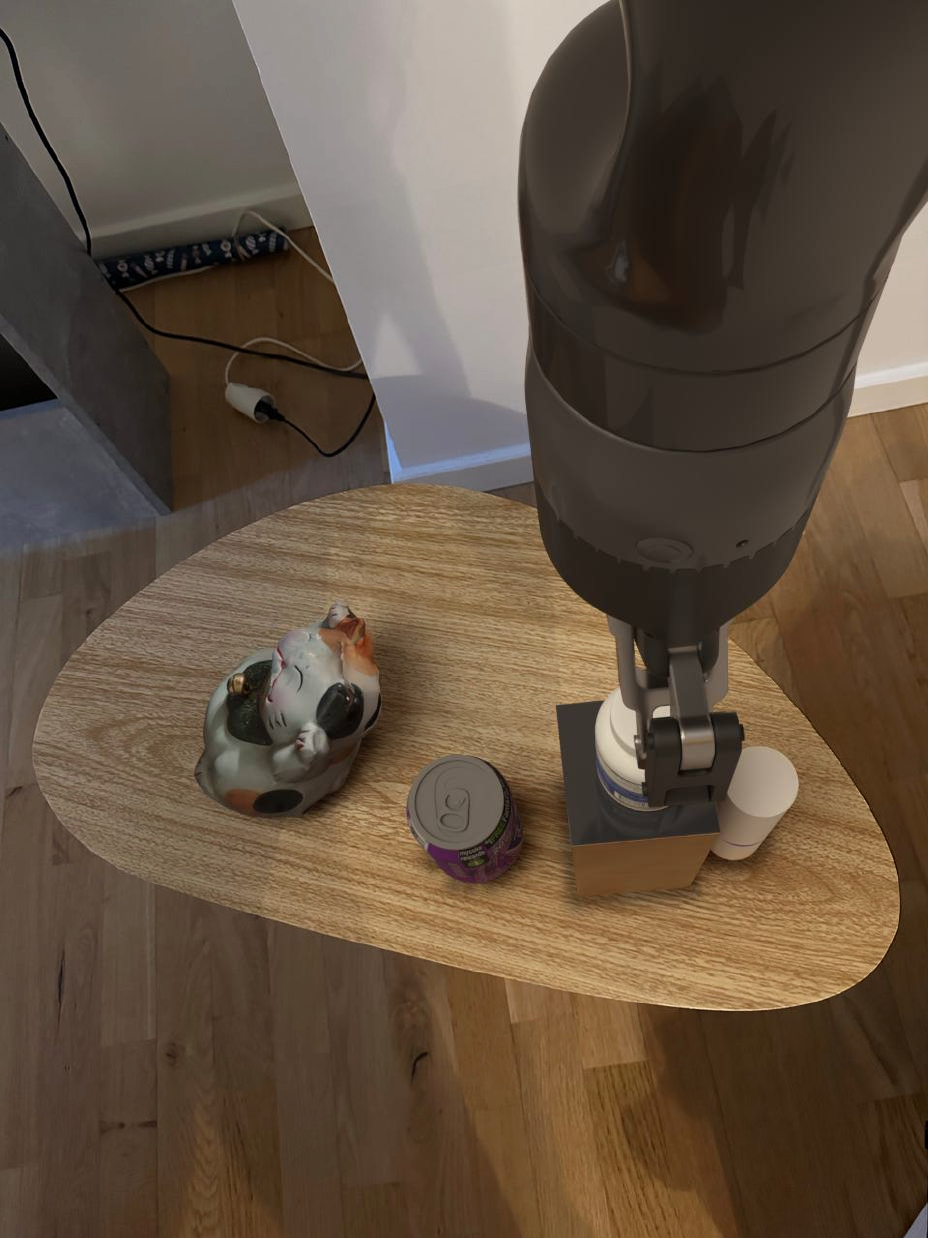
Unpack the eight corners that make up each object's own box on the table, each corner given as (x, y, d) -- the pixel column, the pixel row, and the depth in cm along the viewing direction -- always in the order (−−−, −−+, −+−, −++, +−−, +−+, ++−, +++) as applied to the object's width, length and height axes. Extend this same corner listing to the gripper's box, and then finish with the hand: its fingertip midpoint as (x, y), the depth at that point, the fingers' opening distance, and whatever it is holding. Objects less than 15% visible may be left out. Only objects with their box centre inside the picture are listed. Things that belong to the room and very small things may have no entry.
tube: (728, 788, 76) (756, 731, 62) (774, 829, 75) (813, 780, 61) (689, 830, 75) (708, 782, 62) (735, 872, 74) (766, 832, 60)
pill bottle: (656, 699, 58) (666, 637, 49) (714, 778, 56) (736, 727, 47) (576, 751, 58) (572, 697, 49) (632, 832, 56) (638, 791, 47)
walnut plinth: (673, 777, 77) (696, 692, 59) (690, 887, 74) (719, 834, 56) (566, 787, 78) (555, 707, 59) (577, 897, 75) (570, 847, 56)
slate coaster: (696, 692, 59) (697, 690, 58) (719, 834, 56) (720, 832, 55) (555, 707, 59) (555, 704, 59) (570, 847, 56) (570, 846, 56)
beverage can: (515, 892, 75) (500, 865, 64) (420, 876, 76) (390, 847, 65) (531, 797, 78) (519, 755, 67) (439, 782, 79) (412, 739, 68)
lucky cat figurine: (233, 643, 85) (265, 543, 75) (370, 691, 87) (421, 600, 77) (170, 803, 76) (196, 715, 66) (325, 853, 78) (375, 775, 68)
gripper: (895, 679, 23) (779, 824, 38) (777, 193, 29) (716, 486, 43) (558, 713, 24) (574, 843, 39) (506, 231, 29) (538, 507, 44)
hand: (649, 654), depth 41 cm, fingers open, 8 cm apart
